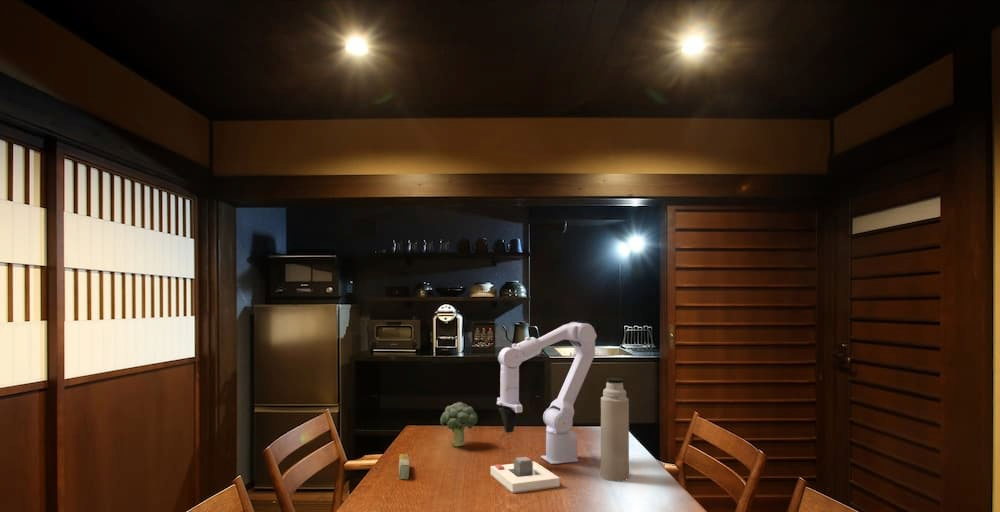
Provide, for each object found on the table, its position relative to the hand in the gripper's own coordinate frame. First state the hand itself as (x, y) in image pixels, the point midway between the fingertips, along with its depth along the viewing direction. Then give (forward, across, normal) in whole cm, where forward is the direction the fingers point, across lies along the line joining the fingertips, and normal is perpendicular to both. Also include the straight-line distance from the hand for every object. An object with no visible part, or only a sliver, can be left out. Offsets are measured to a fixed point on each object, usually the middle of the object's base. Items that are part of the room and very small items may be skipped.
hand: (509, 431), depth 174 cm
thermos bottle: (+10, +21, +24) cm, 34 cm away
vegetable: (+10, -25, -7) cm, 28 cm away
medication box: (+10, -4, -32) cm, 34 cm away
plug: (+10, +15, -2) cm, 18 cm away
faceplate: (+10, +15, -2) cm, 18 cm away
